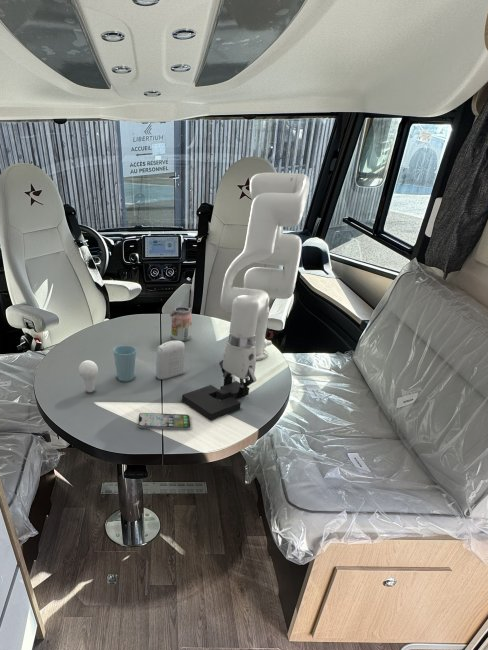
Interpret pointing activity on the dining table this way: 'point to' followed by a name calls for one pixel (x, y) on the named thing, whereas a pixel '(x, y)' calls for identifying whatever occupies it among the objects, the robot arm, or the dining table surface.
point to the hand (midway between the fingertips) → (234, 392)
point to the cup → (125, 362)
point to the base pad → (210, 403)
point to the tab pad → (229, 391)
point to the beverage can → (181, 324)
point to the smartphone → (164, 421)
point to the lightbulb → (88, 374)
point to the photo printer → (170, 359)
